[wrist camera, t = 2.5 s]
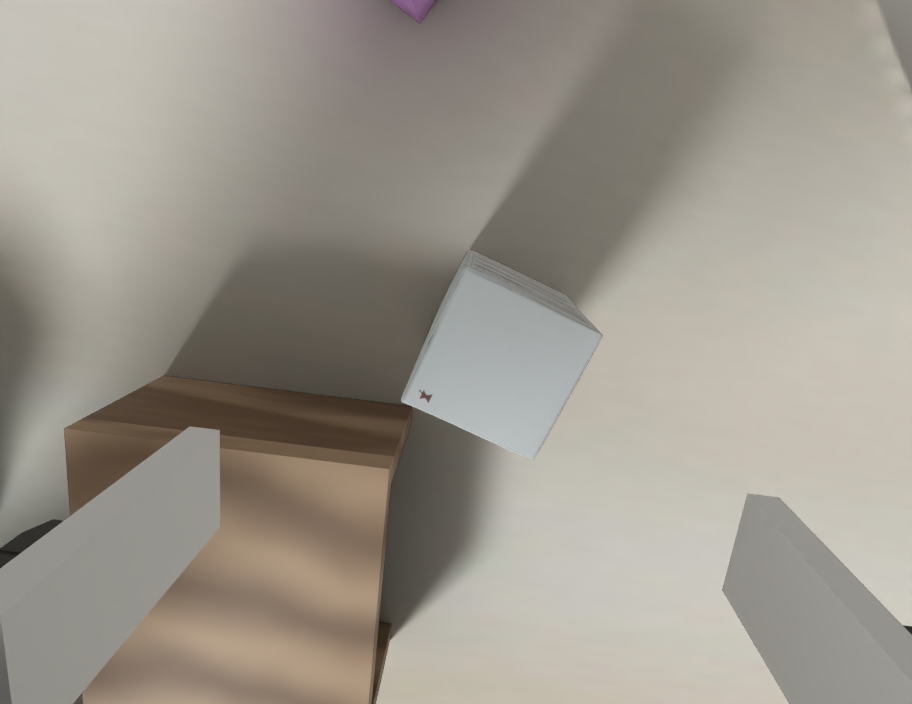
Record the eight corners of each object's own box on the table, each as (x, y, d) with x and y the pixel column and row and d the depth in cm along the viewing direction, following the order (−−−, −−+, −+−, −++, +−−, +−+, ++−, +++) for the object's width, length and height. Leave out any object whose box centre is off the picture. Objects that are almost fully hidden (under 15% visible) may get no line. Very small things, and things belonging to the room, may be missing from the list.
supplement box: (518, 388, 40) (531, 469, 28) (422, 341, 39) (393, 402, 27) (569, 294, 38) (609, 336, 26) (470, 243, 38) (462, 262, 25)
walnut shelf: (389, 640, 46) (363, 758, 36) (168, 611, 46) (84, 719, 36) (412, 406, 41) (389, 469, 31) (163, 375, 41) (64, 428, 31)
